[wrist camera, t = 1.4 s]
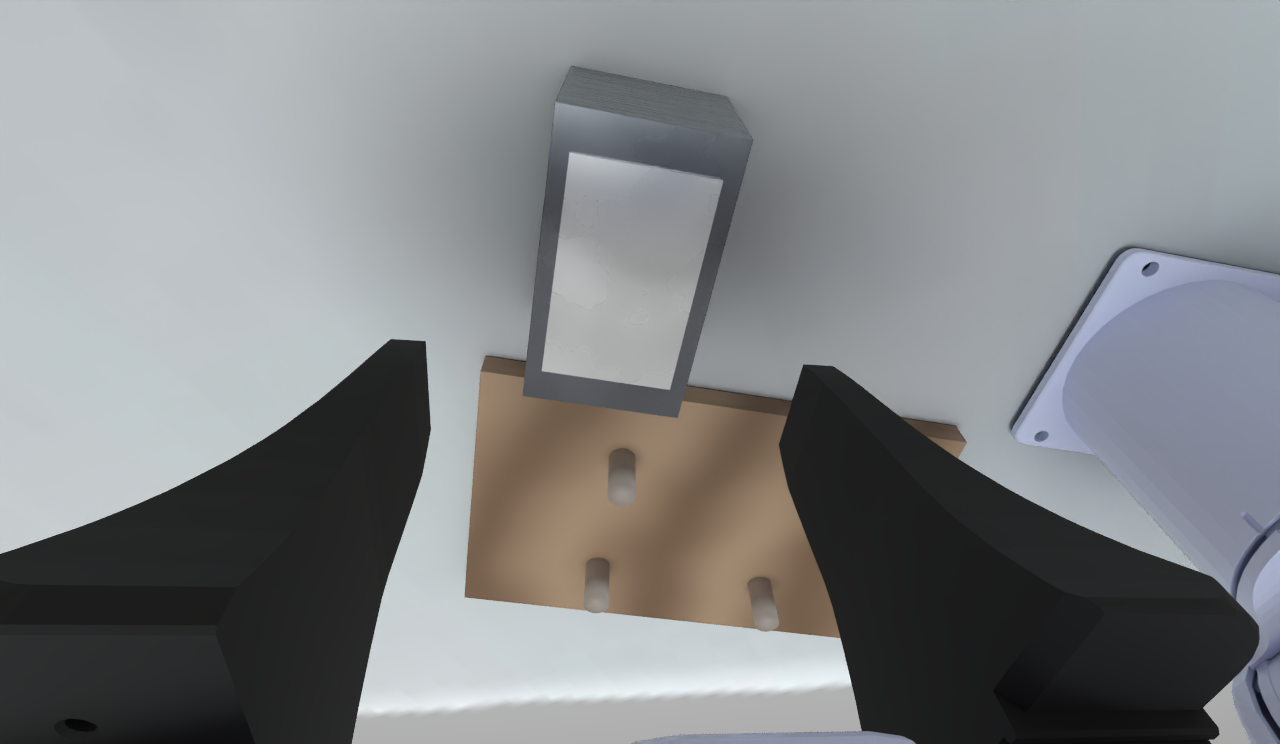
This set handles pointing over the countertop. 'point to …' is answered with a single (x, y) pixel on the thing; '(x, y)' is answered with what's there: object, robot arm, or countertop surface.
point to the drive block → (630, 239)
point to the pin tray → (644, 509)
